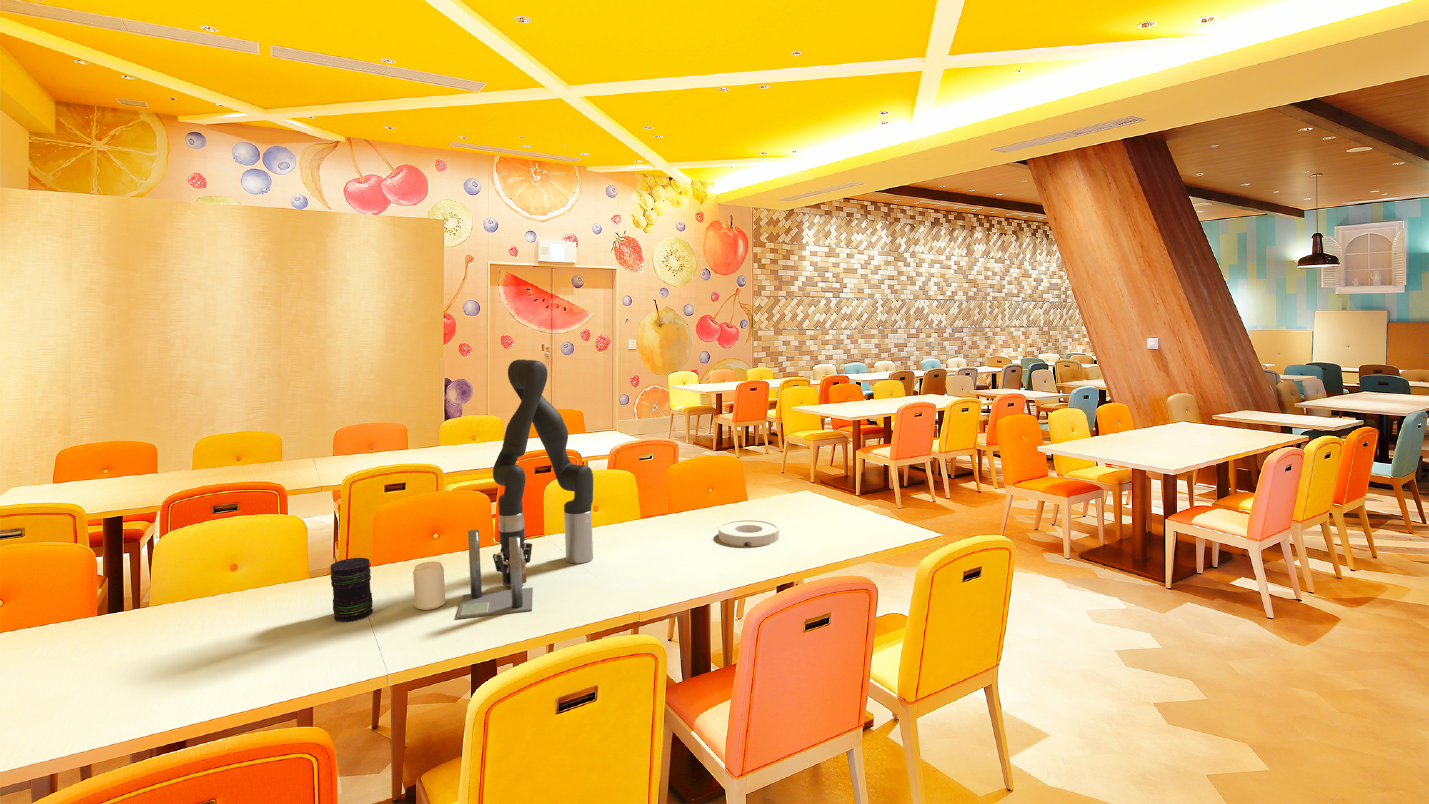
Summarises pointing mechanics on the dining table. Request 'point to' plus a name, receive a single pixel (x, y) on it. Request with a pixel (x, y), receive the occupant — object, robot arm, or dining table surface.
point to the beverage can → (429, 585)
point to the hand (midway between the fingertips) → (514, 580)
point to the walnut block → (523, 570)
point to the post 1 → (474, 564)
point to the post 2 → (515, 572)
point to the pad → (476, 607)
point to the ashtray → (748, 532)
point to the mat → (495, 603)
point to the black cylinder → (351, 589)
